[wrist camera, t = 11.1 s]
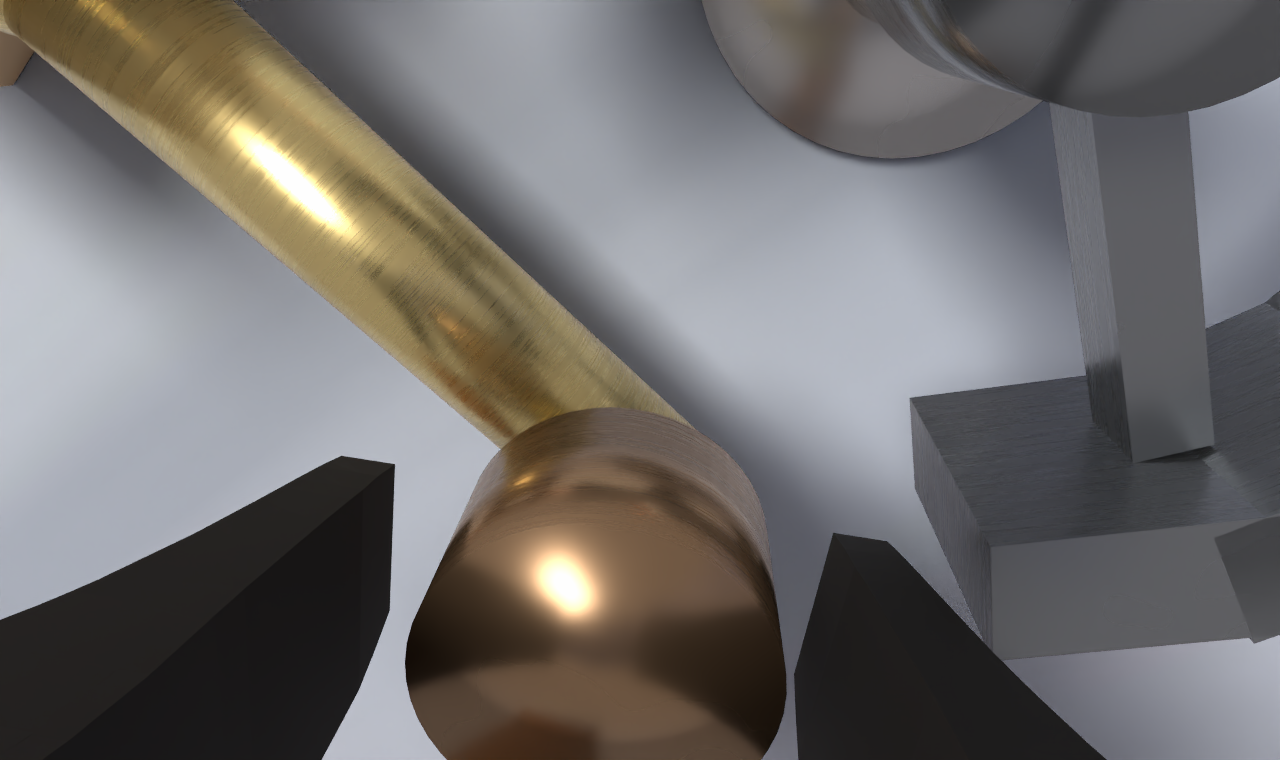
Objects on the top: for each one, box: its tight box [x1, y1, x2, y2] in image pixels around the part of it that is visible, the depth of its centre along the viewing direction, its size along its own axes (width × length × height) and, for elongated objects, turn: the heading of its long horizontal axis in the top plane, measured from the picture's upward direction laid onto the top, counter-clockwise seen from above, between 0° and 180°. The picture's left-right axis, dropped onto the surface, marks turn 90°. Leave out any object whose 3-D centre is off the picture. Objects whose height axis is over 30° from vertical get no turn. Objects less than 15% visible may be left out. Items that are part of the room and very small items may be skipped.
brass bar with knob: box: [0, 0, 787, 760], centre depth 10 cm, size 13×4×6 cm, turn 46°
